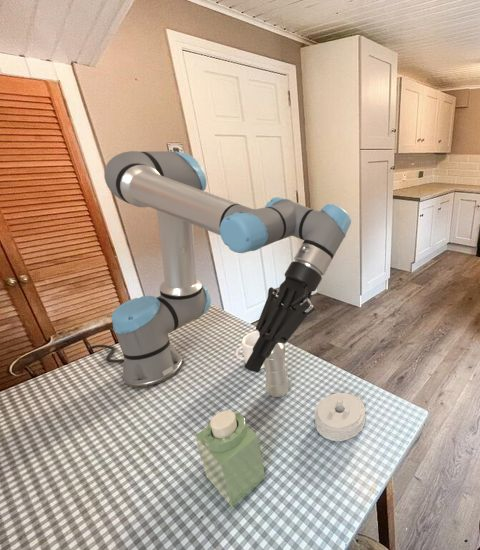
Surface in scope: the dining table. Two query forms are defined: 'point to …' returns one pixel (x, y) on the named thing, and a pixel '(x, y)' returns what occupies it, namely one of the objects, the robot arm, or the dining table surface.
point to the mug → (248, 346)
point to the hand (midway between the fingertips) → (251, 369)
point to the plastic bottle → (276, 372)
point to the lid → (339, 416)
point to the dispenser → (232, 461)
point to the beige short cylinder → (223, 424)
